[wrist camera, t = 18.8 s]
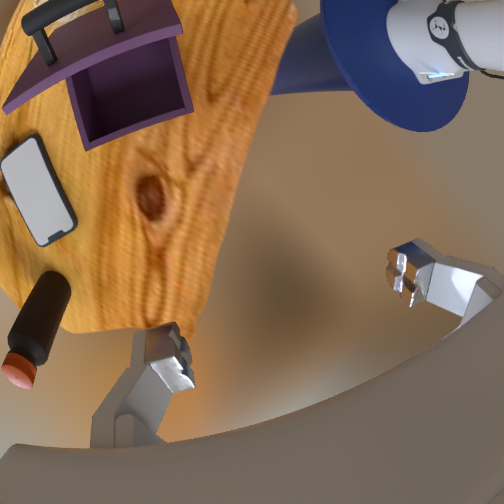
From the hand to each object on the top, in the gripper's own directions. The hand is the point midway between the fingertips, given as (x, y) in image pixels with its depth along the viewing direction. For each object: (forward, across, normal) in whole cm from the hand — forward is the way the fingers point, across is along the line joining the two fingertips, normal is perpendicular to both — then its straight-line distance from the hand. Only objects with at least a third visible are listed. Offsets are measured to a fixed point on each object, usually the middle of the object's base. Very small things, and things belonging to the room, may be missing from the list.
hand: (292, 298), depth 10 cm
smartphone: (+31, +26, -4) cm, 41 cm away
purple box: (+31, +7, -14) cm, 35 cm away
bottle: (+31, +32, +12) cm, 46 cm away
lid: (+17, +7, -17) cm, 24 cm away
